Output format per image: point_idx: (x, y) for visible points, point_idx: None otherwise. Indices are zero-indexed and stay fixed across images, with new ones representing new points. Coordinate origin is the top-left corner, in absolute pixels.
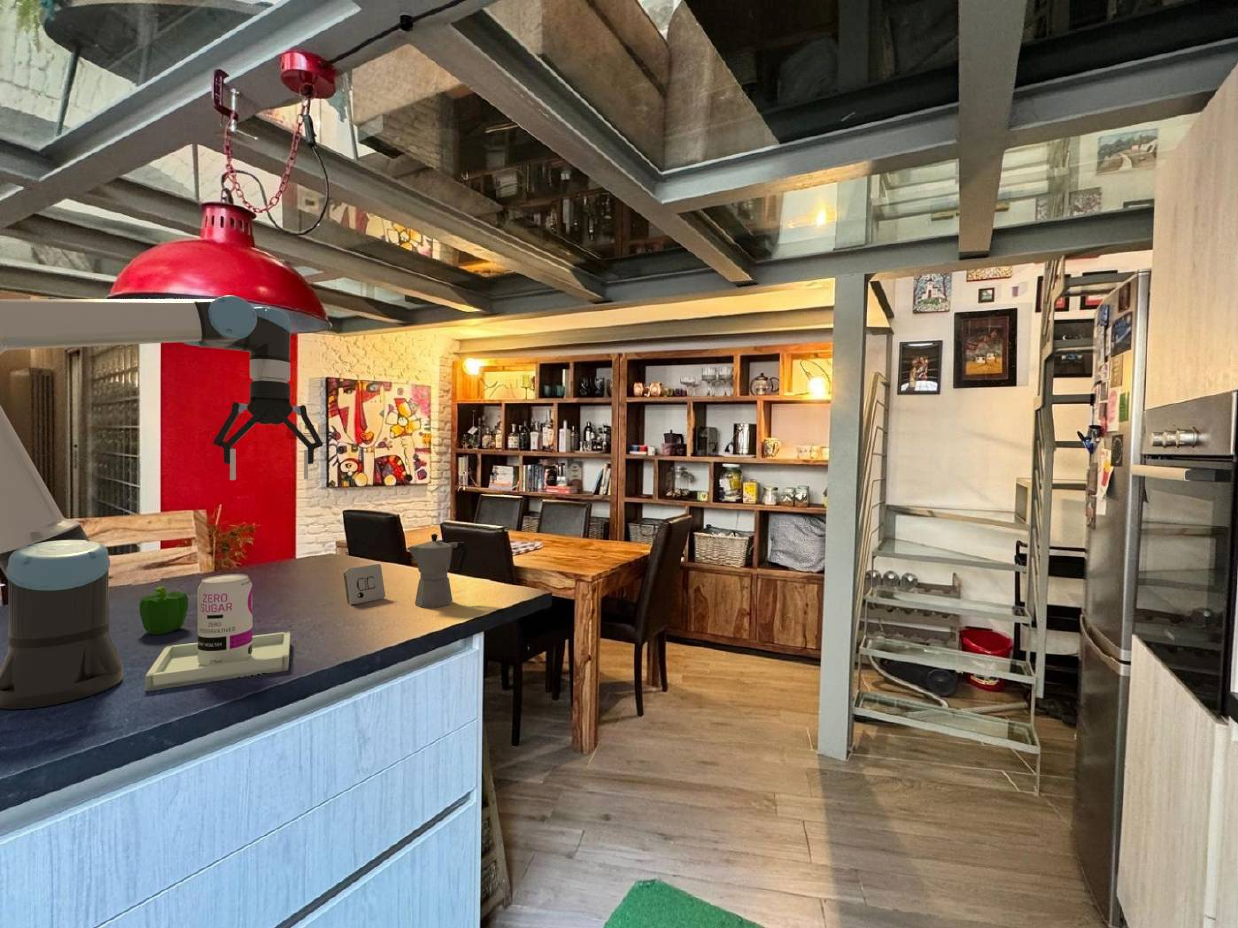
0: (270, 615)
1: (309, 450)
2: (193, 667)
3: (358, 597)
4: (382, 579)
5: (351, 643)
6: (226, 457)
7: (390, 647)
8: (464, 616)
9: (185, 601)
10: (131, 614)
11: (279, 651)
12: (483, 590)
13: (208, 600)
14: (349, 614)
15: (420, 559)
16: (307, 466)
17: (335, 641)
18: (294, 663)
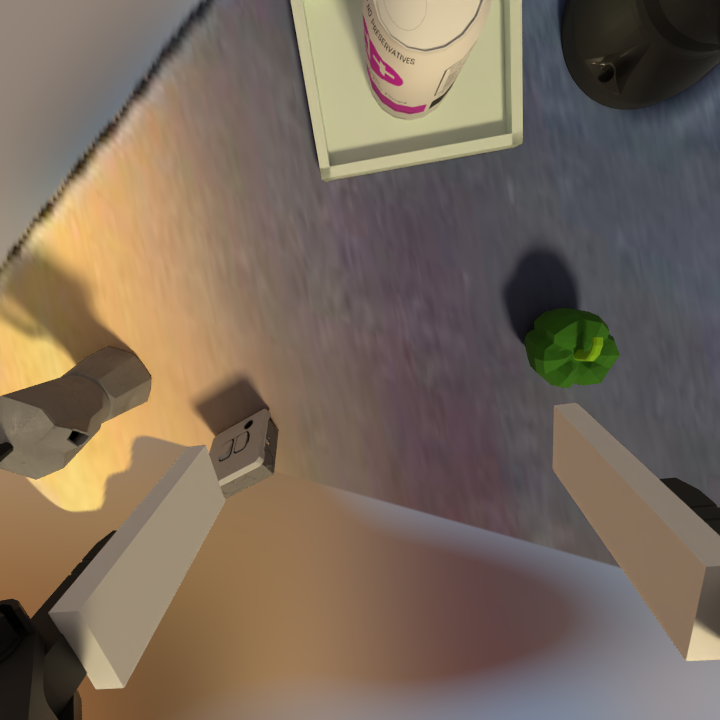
0: (394, 382)
1: (52, 627)
2: None
3: (253, 420)
4: None
5: (215, 145)
6: (705, 514)
7: (137, 91)
8: (41, 267)
9: (536, 346)
10: None
11: (326, 102)
12: None
13: None
14: (258, 347)
15: (71, 405)
16: (146, 497)
17: (247, 169)
18: (291, 41)
